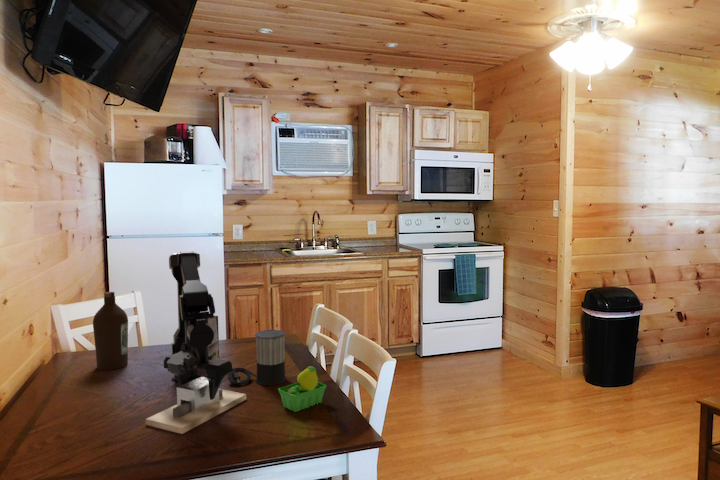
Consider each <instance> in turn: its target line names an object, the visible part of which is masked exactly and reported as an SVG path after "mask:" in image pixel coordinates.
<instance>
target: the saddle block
mask: <svg viewBox="0 0 720 480" xmlns="http://www.w3.org/2000/svg"><path fill="white" fill-rule="evenodd" d="M205 377H206V376H201V377H199V378H196V379H194V380H192V381H189V382H188V383H186V384H183V385H181V386H180V385H179V386H176V405H177V406H179V405H182V404H184V403H186V402H188V401H190V402H191V412H192V413H193V414H196V413H198V412H200V411H202V410H204V409H206V408H208V407H210V406H212V405H214V404H216V403H218V402H219V388H220V387H219V388H218V391H217V393H216V395H215V398H214V399H212V400H210V395H209V381H208V380H207V379H206V378H205Z"/></svg>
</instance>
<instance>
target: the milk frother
mask: <svg viewBox="0 0 720 480" xmlns="http://www.w3.org/2000/svg"><path fill="white" fill-rule="evenodd" d="M254 336H255V350H256V351H255V353H256V374H254V373H253V372H251V371H250V370H248V369H246V368H245V367H244V368H243V367H235V368H232V371H231V372H229V373H228V374H227V381H229V383H231V384H233V385H239V386H241V385H246V384H248V383H250V381H251V379H252V376H254V377H256V379H255V383H257V384H258V385H263V386H272V385H273V386H274V385H275V386H276V385H279V384H282V383H285V382H286V380H287V377H286V368H285V367H286V363H285V362H286V360H285V359H286V357H285V354H286V353H285V351H286V350H285V349H286V348H285V347H286V345H285V344H286V343H285V341H286V340H285V339H286V338H285V337H286V332H285V331H284V330H279V329H266V330H264V329H263V330H259V331H258V332H255V334H254ZM238 373H242V374H245V375H246V378H245V379H244V380H243V379H242V380H241V375H239V374H238Z"/></svg>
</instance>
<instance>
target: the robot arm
mask: <svg viewBox="0 0 720 480" xmlns="http://www.w3.org/2000/svg"><path fill="white" fill-rule="evenodd" d="M168 257H169V258H168V267H169V270H171V274H172V276H173V278H174V280H175V281H176V282H177V283H176V285H177V289H176V290H177V320H178V322H177V323H178V327H177V329H176V330H175V332H174V334H173V335H172V336H173V338H172V339H173V342H171V343H170V344H171V345H170V355H168V356H165V358H164V360H163V369H167V372H169V373H171V374H172V375H173V376H174V377H171V378H170V379H171V381H177V382H178V384H179V386H181V385H183V384H186V383H188V382H190V381H193V380H195V379H197V378H200V377H202V374H199V373H198V369H200V370H204V371H205V375H206V376H204V377H205V378H206V379H207V380H208V381H209V395H210V400H212V399H214V398H215V395H216V393H217V391H218V388H220V385H221V384H222V382H223V380H224V378H225V376H228V374H229V372H231V371H232V369H233V363H232V362H231V361H230V360H226V359H221V358H219V360H216V361H214V362H209V360H211V359H212V355H209V349H208V345H210V344H212V341H213V338H214V332H213V330H212V328H211V327H210V326H209V324H208V318H214V316H215V314H216V307H215V301H214V297H213V296H212V294H211V293H210V292H209V289H208V286H207V285H206V284H205V283H203V282H202V281H201V278H200V274H199V270H198V268H200V267H201V258H200V257H201V256H200V253H198V252H196V251H193V250H192V251H189V250H188V251H187V250H186V251H180V252H177V253H172V254H170V255H169V256H168Z"/></svg>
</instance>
